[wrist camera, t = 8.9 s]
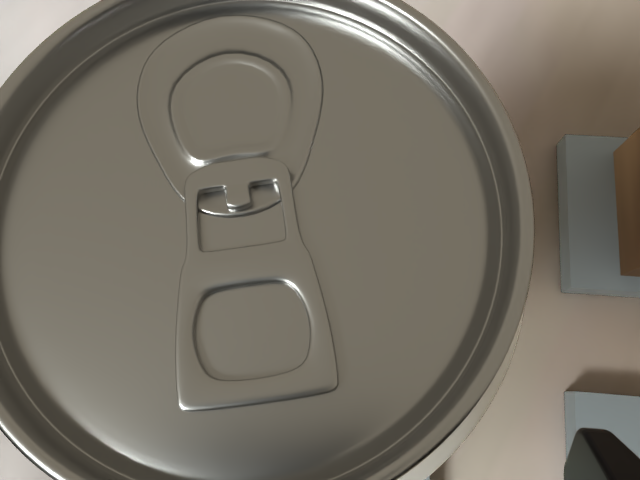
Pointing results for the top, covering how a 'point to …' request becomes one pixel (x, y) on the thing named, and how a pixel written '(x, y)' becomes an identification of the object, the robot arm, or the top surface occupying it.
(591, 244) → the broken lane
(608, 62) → the top surface
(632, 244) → the walnut cube
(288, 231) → the can
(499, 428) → the top surface
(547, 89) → the top surface
